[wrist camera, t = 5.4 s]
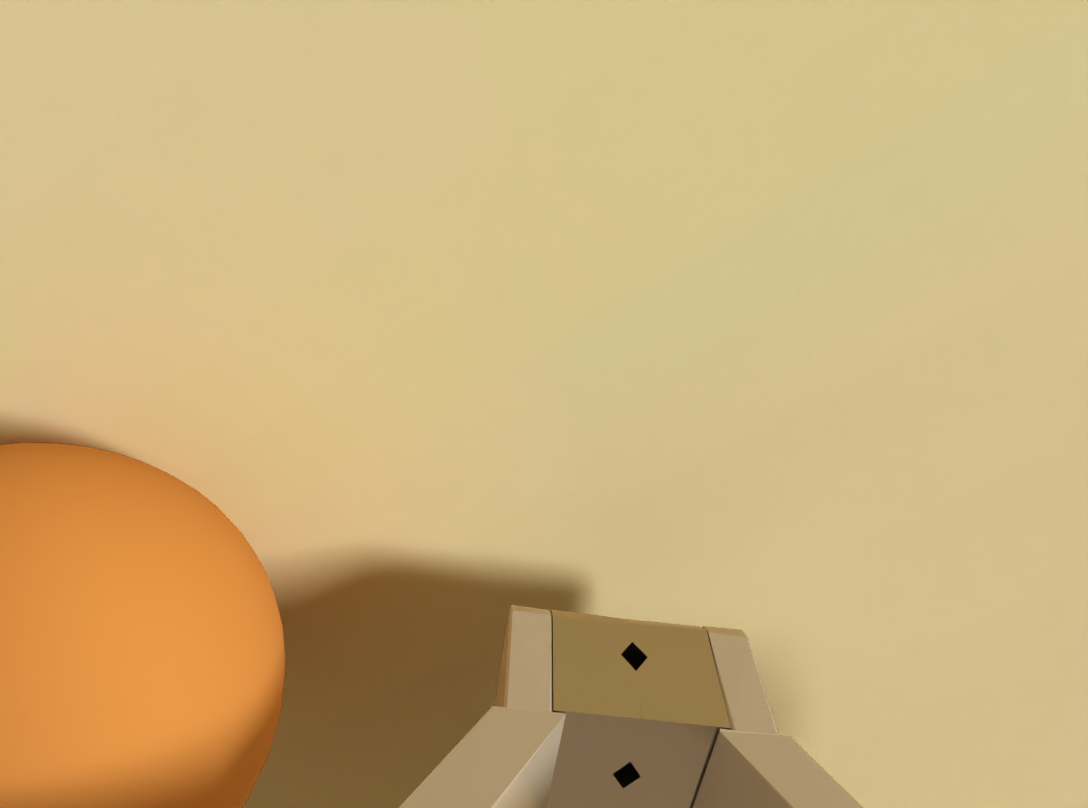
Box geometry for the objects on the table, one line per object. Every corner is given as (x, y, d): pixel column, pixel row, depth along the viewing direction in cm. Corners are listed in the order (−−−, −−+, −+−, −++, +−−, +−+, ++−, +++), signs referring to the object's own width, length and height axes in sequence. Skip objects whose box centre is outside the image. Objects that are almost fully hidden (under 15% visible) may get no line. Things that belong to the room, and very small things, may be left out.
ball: (291, 608, 6) (237, 339, 11) (-745, 842, 4) (-291, 394, 9) (337, 973, 9) (278, 638, 13) (-298, 1227, 7) (-121, 733, 11)
